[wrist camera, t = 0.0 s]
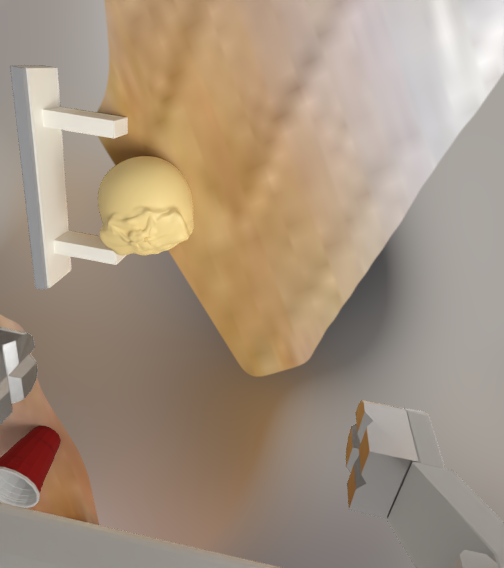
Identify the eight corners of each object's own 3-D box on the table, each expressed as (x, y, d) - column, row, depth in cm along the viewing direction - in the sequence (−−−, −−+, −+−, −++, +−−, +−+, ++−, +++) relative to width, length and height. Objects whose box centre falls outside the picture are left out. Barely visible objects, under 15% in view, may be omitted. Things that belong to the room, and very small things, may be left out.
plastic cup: (24, 452, 88) (-17, 505, 77) (16, 411, 83) (-29, 462, 72) (75, 462, 87) (41, 517, 77) (70, 422, 82) (33, 475, 72)
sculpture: (139, 244, 63) (106, 276, 54) (105, 163, 59) (62, 182, 49) (212, 227, 61) (191, 258, 51) (183, 140, 56) (153, 156, 46)
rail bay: (42, 65, 54) (7, 65, 48) (127, 78, 53) (102, 80, 48) (59, 267, 67) (33, 287, 61) (127, 280, 66) (108, 302, 60)
